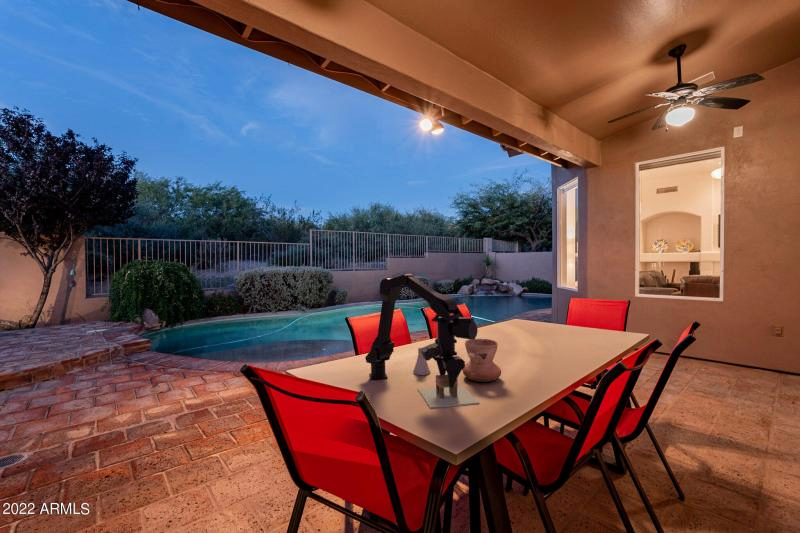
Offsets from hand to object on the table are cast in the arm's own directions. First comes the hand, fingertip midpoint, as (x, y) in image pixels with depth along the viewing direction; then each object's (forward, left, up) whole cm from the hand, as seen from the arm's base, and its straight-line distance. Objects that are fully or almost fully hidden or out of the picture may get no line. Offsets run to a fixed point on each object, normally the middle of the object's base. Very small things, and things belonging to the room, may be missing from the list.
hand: (446, 382), depth 112 cm
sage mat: (0, 0, -5) cm, 5 cm away
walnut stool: (0, 0, -4) cm, 4 cm away
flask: (-26, -2, -5) cm, 27 cm away
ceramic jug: (-14, +19, -5) cm, 24 cm away
